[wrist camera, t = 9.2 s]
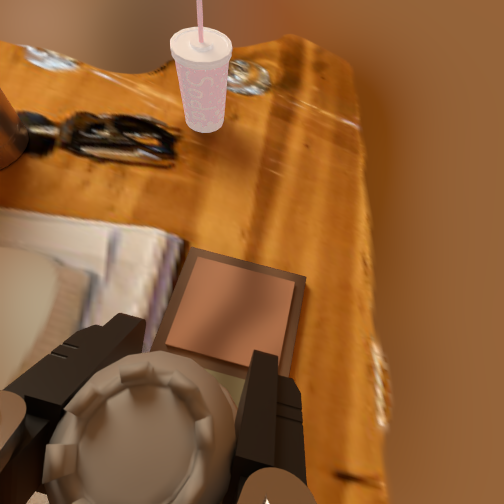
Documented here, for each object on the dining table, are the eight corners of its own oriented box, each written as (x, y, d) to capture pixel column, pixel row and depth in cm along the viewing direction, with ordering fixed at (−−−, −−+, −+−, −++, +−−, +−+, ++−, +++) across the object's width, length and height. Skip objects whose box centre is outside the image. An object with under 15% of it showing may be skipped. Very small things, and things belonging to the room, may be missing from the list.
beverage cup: (169, 125, 39) (146, -15, 26) (195, 97, 41) (186, -41, 29) (214, 144, 38) (212, 8, 26) (238, 114, 41) (246, -21, 28)
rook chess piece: (245, 375, 13) (277, 314, 6) (239, 515, 11) (278, 667, 4) (133, 370, 13) (33, 298, 6) (104, 512, 11) (-111, 670, 4)
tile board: (20, 693, 17) (4, 713, 16) (191, 251, 31) (190, 244, 30) (218, 757, 17) (218, 783, 16) (303, 281, 30) (307, 274, 29)
